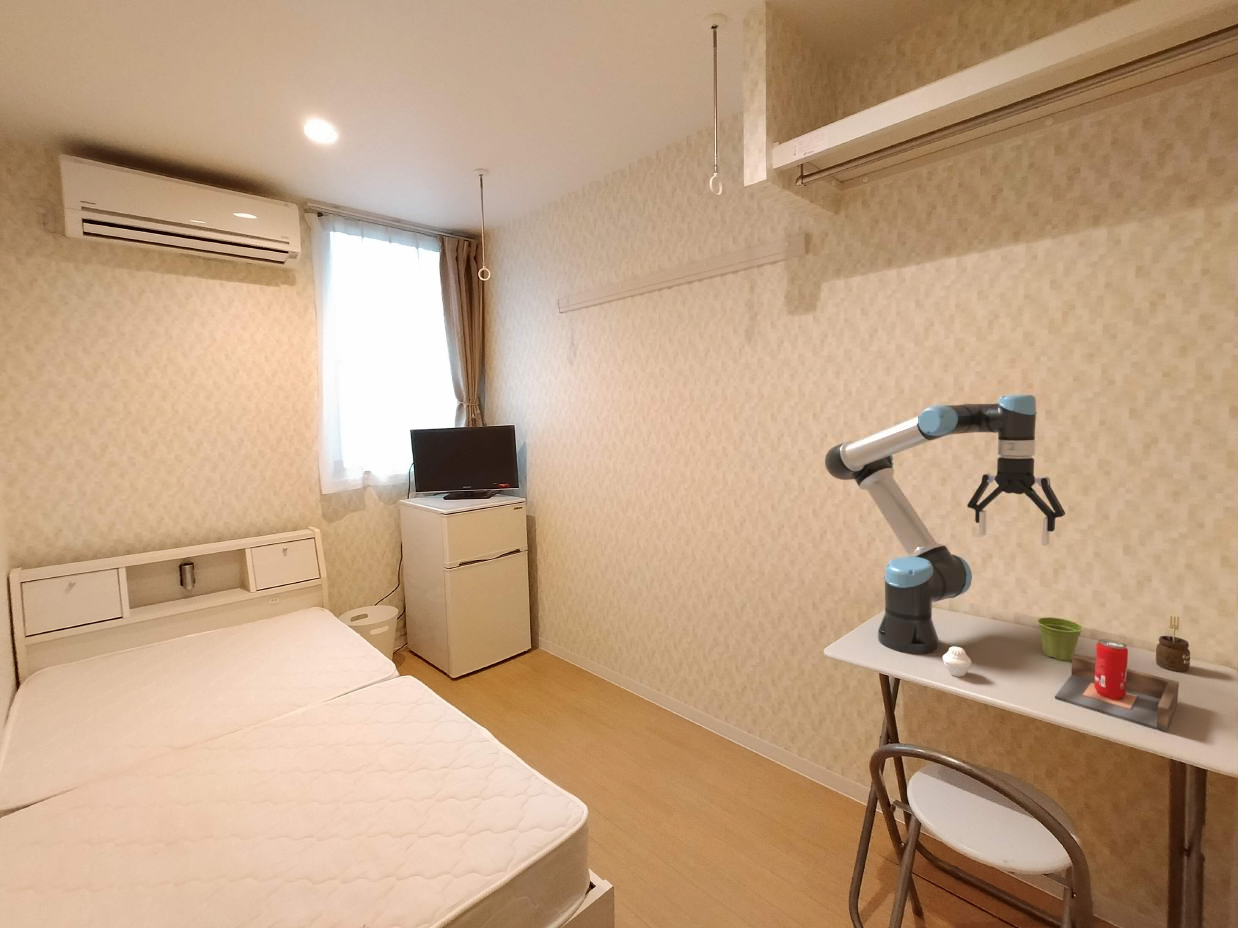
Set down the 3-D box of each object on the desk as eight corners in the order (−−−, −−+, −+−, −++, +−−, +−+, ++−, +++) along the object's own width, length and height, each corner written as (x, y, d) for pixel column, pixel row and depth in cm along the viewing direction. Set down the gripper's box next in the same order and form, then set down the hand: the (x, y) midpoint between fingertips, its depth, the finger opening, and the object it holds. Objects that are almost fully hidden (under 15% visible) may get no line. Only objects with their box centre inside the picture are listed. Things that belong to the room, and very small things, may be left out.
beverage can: (1095, 686, 127) (1098, 636, 126) (1126, 694, 123) (1129, 642, 122) (1092, 695, 123) (1095, 643, 122) (1124, 703, 120) (1127, 650, 118)
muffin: (955, 681, 133) (956, 653, 133) (936, 669, 139) (936, 642, 139) (977, 677, 135) (978, 650, 134) (957, 666, 141) (958, 640, 140)
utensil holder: (1155, 667, 136) (1158, 620, 135) (1155, 658, 141) (1158, 613, 140) (1189, 674, 132) (1192, 626, 131) (1188, 665, 137) (1191, 618, 136)
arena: (1054, 698, 124) (1055, 677, 124) (1072, 674, 134) (1073, 655, 134) (1166, 732, 110) (1168, 708, 110) (1177, 703, 120) (1178, 681, 120)
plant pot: (1090, 664, 139) (1092, 631, 138) (1047, 662, 141) (1049, 630, 140) (1068, 648, 148) (1069, 617, 147) (1028, 647, 150) (1029, 616, 149)
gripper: (955, 455, 146) (953, 534, 148) (1075, 460, 126) (1070, 550, 129) (965, 453, 150) (963, 529, 152) (1083, 457, 131) (1078, 544, 133)
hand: (1012, 539), depth 140 cm, fingers open, 13 cm apart
